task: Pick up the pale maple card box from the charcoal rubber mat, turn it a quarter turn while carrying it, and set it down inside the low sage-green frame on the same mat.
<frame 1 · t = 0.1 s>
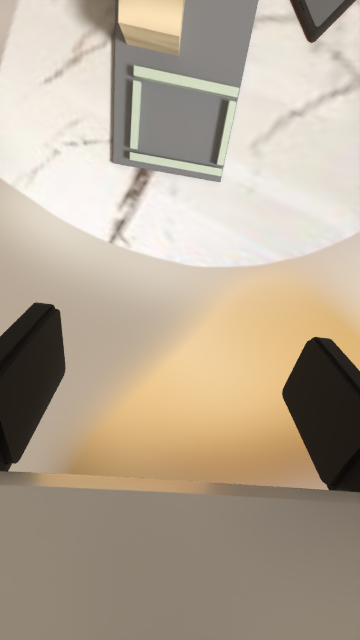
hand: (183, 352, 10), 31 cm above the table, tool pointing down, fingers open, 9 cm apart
mat: (179, 70, 29), on the table
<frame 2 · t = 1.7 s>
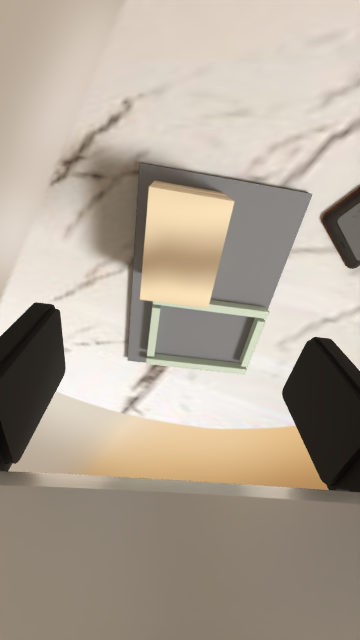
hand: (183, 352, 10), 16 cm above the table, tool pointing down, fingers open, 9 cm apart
mat: (202, 290, 26), on the table
card box: (181, 237, 23), resting on mat
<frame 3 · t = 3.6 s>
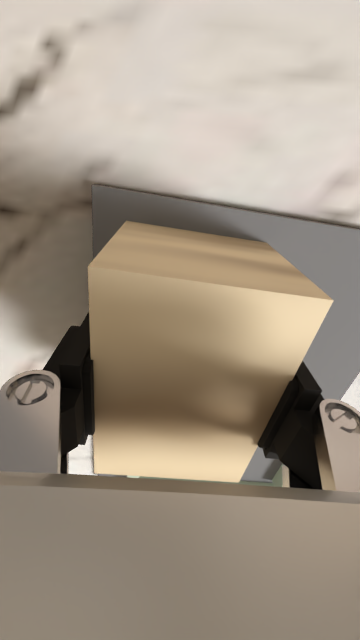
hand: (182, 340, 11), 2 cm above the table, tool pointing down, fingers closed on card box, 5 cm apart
mat: (218, 393, 15), on the table
card box: (182, 319, 12), resting on mat, touching gripper
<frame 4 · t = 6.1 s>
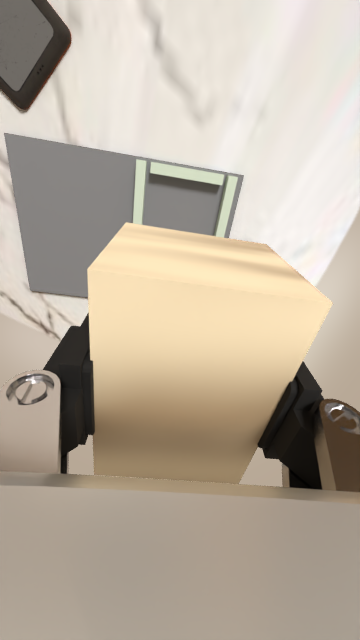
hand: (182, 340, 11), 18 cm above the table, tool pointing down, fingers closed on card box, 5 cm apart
mat: (126, 237, 26), on the table
card box: (181, 321, 12), point 16 cm above the table, touching gripper
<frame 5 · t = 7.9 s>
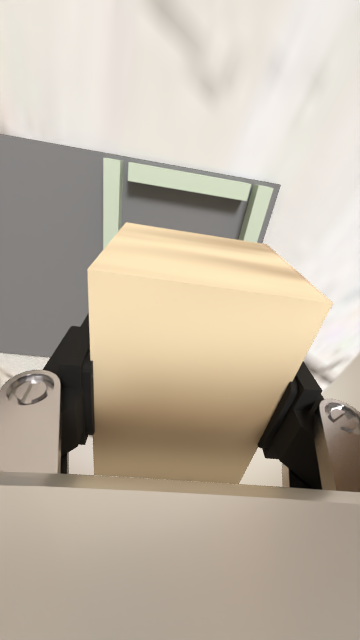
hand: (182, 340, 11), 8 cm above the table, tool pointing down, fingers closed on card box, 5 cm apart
mat: (97, 276, 17), on the table
card box: (181, 321, 12), point 6 cm above the table, touching gripper
when the fingers open (4 cm above the table, at t = 9.1 s): card box drops 2 cm, resting on mat.
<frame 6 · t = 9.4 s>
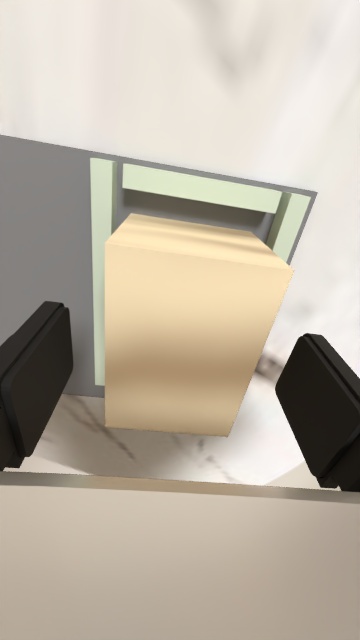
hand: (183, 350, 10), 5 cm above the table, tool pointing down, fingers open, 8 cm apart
mat: (88, 300, 14), on the table
card box: (179, 301, 14), resting on mat
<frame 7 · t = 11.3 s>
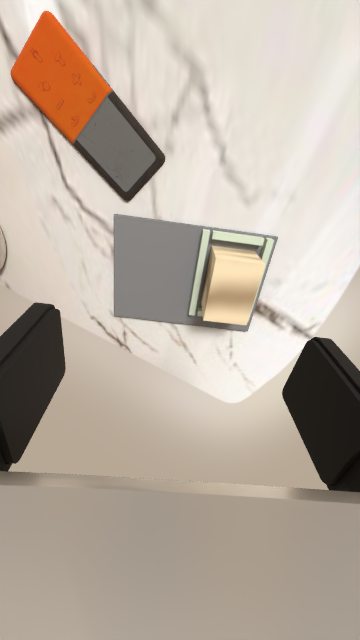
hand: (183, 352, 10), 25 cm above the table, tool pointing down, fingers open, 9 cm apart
mat: (188, 278, 35), on the table
card box: (226, 278, 34), resting on mat
phone: (95, 121, 27), on the table
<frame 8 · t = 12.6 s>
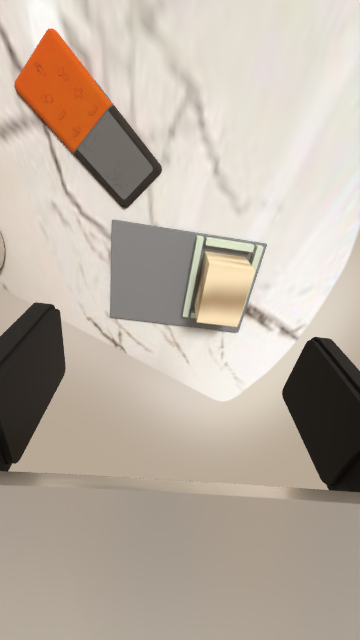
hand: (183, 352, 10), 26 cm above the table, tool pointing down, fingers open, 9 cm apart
mat: (182, 282, 37), on the table
card box: (218, 281, 36), resting on mat
phone: (95, 131, 28), on the table
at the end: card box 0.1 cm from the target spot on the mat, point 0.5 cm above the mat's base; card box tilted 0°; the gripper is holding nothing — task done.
